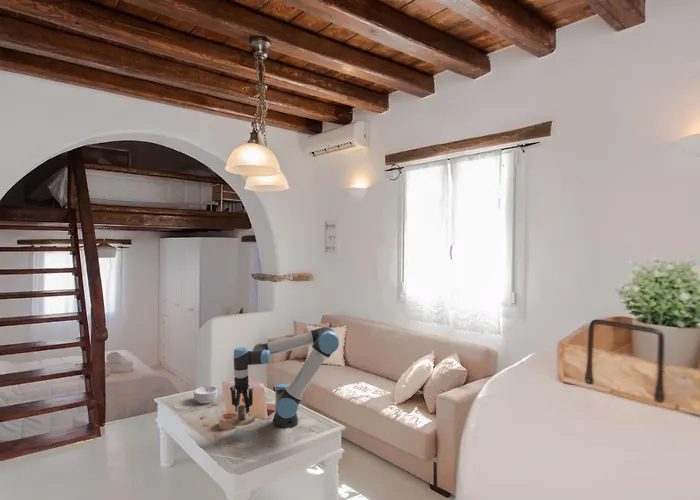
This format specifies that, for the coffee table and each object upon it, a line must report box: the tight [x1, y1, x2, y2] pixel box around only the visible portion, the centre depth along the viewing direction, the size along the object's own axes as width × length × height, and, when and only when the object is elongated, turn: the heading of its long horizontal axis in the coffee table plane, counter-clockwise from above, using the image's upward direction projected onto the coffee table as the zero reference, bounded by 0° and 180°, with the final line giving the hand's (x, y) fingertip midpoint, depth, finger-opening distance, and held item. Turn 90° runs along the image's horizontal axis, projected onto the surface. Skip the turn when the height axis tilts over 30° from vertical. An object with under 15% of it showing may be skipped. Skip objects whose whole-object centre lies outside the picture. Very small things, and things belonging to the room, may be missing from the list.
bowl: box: [218, 411, 239, 431], centre depth 251 cm, size 11×11×6 cm
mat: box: [223, 428, 260, 444], centre depth 238 cm, size 14×14×1 cm
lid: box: [231, 404, 256, 427], centre depth 238 cm, size 13×13×8 cm
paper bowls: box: [193, 385, 218, 405], centre depth 290 cm, size 15×15×8 cm
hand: (242, 417), depth 238 cm, fingers closed on lid, 4 cm apart
